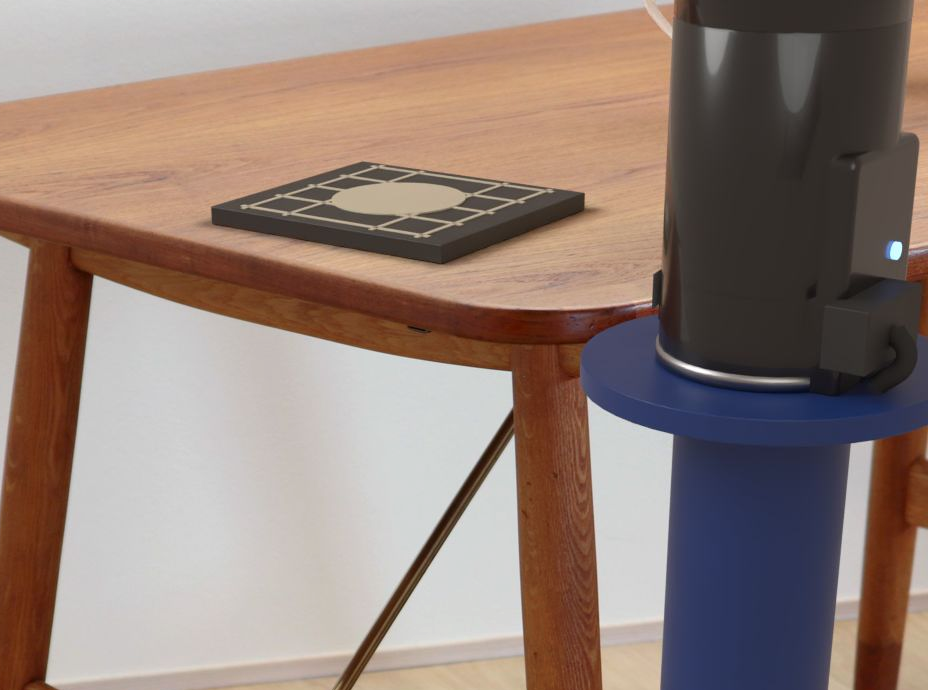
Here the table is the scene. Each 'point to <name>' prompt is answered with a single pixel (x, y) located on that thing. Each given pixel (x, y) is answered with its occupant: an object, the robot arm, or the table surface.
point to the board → (399, 210)
